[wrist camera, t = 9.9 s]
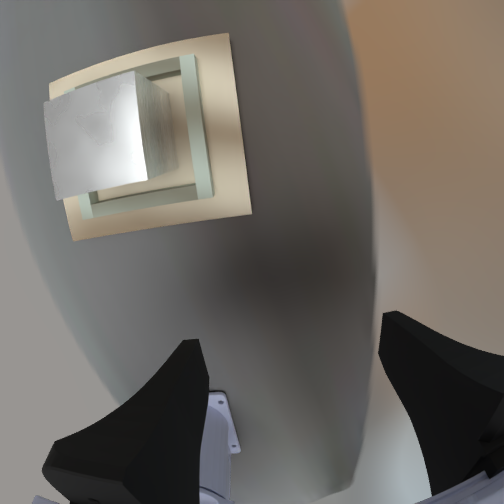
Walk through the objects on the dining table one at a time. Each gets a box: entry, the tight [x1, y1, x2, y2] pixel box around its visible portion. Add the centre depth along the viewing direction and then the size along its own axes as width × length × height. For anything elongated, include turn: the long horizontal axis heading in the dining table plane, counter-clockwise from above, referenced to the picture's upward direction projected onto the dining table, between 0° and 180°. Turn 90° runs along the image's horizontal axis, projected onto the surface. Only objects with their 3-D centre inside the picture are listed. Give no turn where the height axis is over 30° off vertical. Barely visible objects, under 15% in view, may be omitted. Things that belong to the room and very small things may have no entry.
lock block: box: [44, 71, 179, 201], centre depth 13 cm, size 4×4×6 cm
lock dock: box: [49, 33, 252, 241], centre depth 16 cm, size 11×12×2 cm
